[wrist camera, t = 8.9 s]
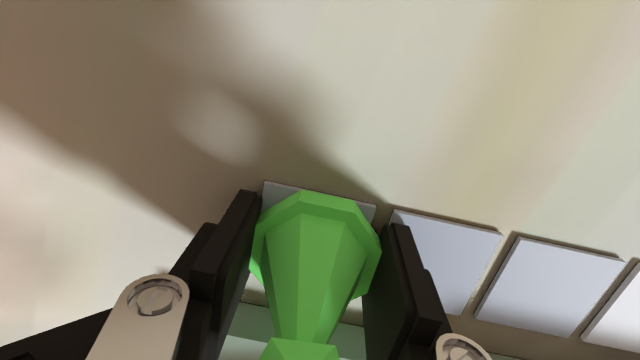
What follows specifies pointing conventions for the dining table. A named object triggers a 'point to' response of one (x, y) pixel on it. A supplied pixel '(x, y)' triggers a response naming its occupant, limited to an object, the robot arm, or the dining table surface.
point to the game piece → (311, 270)
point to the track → (517, 278)
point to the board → (257, 329)
